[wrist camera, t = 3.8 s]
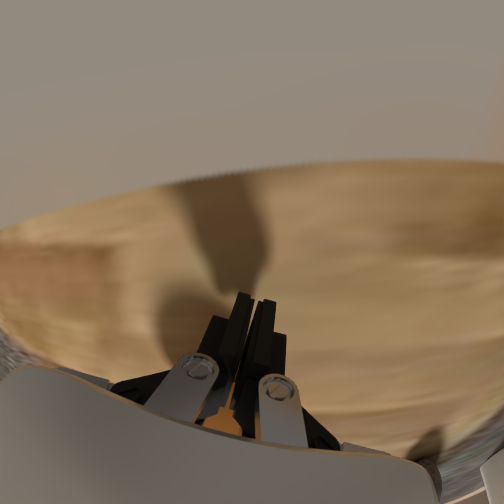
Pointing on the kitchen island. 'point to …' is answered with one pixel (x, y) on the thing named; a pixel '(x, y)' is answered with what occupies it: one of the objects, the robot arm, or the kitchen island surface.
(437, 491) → the perforated stone tool
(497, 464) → the cylindrical container
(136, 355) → the kitchen island surface
